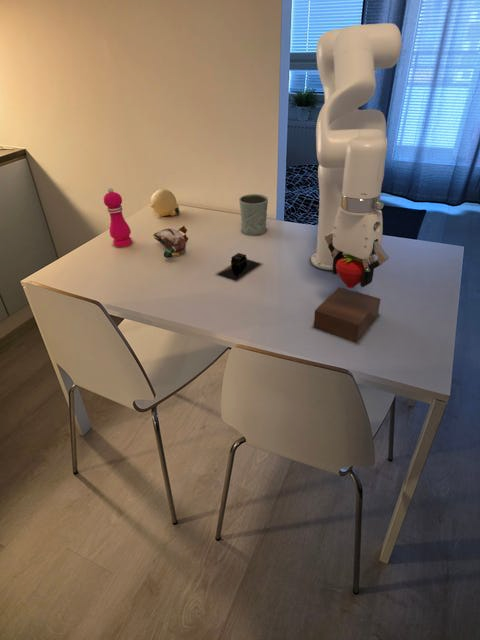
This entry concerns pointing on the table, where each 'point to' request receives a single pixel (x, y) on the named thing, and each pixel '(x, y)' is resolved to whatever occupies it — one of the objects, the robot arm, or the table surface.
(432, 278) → the table surface
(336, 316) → the walnut block
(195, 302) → the table surface
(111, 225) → the pepper mill
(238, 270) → the build plate
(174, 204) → the beige rounded lump
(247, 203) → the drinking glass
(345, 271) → the strawberry
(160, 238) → the decorative duck model
